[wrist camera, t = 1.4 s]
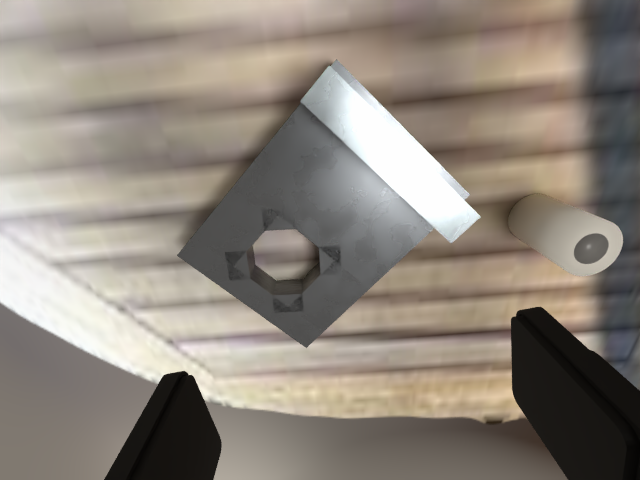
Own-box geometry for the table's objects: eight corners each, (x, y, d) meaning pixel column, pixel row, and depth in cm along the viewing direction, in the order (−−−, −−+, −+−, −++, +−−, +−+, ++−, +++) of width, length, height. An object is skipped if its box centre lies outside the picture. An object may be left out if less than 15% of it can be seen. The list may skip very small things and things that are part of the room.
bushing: (538, 183, 34) (601, 207, 26) (566, 215, 35) (635, 246, 27) (498, 219, 35) (547, 251, 27) (527, 248, 36) (581, 287, 29)
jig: (334, 63, 30) (339, 52, 23) (457, 187, 34) (490, 207, 27) (188, 243, 36) (159, 275, 29) (307, 330, 40) (304, 375, 33)
